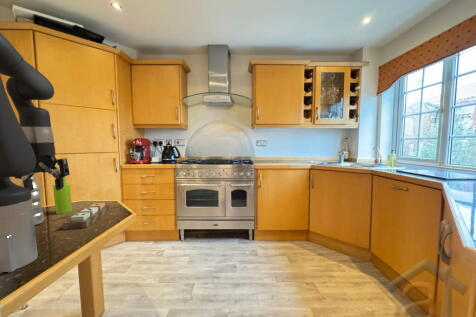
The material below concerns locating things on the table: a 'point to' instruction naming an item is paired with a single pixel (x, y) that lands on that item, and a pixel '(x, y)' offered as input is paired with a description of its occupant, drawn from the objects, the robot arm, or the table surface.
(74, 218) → the two dot button
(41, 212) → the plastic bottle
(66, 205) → the soap dispenser
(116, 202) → the table surface
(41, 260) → the table surface
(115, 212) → the table surface
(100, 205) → the one dot button
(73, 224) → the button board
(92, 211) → the three dot button
